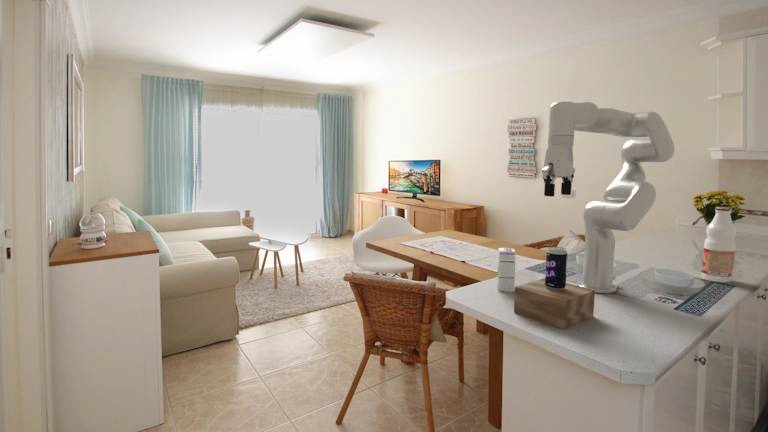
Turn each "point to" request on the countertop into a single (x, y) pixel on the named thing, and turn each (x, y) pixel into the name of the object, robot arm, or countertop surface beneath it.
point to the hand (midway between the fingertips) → (557, 195)
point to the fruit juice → (719, 247)
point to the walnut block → (554, 303)
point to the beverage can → (556, 268)
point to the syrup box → (506, 269)
